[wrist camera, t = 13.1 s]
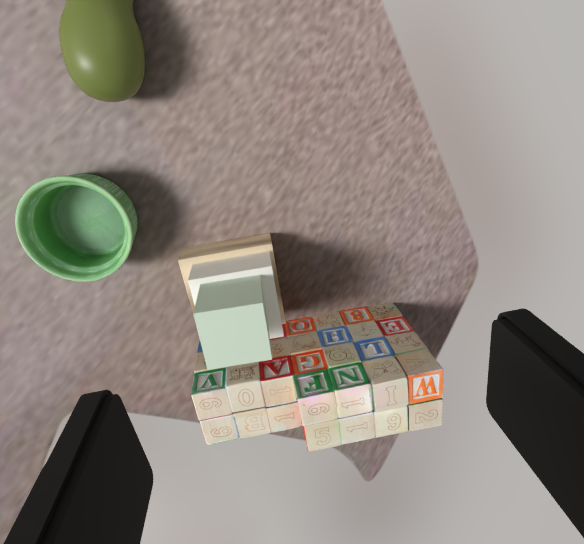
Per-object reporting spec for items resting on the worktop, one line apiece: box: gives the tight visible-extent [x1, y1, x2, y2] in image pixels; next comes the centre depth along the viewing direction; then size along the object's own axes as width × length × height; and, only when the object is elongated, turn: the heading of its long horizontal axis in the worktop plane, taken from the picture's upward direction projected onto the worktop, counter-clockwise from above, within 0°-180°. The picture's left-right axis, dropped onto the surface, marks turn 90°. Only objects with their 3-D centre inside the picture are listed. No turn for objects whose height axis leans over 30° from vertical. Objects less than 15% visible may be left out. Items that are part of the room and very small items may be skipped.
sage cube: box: [193, 275, 272, 370], centre depth 32 cm, size 5×5×5 cm
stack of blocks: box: [191, 303, 443, 451], centre depth 39 cm, size 21×6×12 cm, turn 98°
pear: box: [59, 0, 145, 102], centre depth 29 cm, size 6×5×10 cm
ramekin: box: [15, 174, 138, 281], centre depth 35 cm, size 9×9×4 cm
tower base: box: [178, 233, 286, 324], centre depth 40 cm, size 8×8×4 cm
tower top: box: [188, 251, 284, 339], centre depth 37 cm, size 7×7×4 cm
